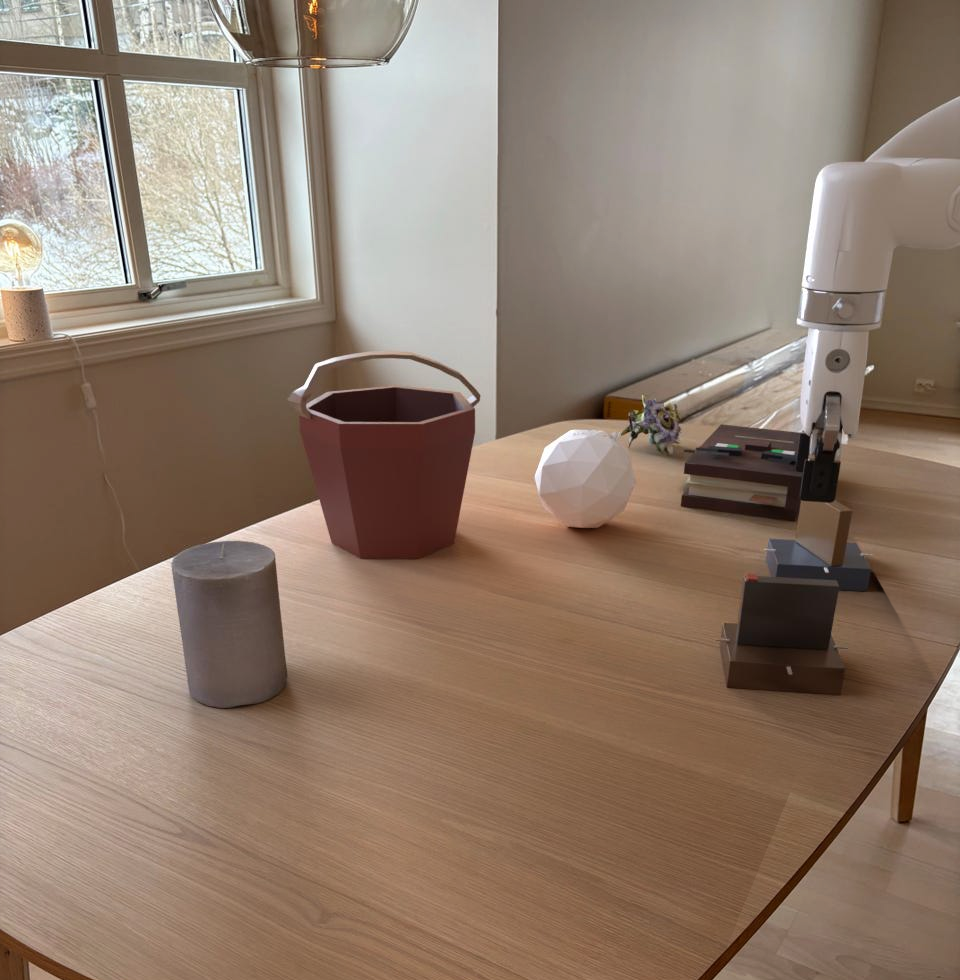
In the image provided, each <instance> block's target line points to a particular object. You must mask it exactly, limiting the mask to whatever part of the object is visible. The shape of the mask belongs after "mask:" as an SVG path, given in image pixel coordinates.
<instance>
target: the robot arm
mask: <svg viewBox="0 0 960 980" xmlns="http://www.w3.org/2000/svg"><path fill="white" fill-rule="evenodd" d="M810 211H811V212H810V219H809V225H808V226H809V227H808V232H807V233H808V236H807V241H806V248H805V256H804V265H803V272H802V281H801V287H800V295H799V301H798V309H797V317H796V325H798V326H801V327H803V328H808V331H807V338H806V345H805V352H804V361H803V366H802V367H803V368H802V376H801V377H802V378H801V387H800V388H801V389H800V401H799V402H800V403H799V406H800V407H799V417H800V424H801V427H802V431H801V432H799V433H800V437H799V444H798V452H797V459H796V466H795V469H796V471H797V472H803V477H802V484H801V491H800V499H801V500H802V501H811V502H826V503H832V502H834V500H835V501H836V494H837V489H838V484H839V483H838V482H839V476H840V471H841V464H842V462H841V451H842V439H843V437H842V436H843V434H844V435H847V438H848V439H853V438H855V437H856V436H857V435H858V430H859V422H860V414H861V407H862V406H861V405H862V400H863V399H862V398H863V392H864V386H865V385H864V384H865V377H866V370H867V361H868V350H869V336H870V335H869V334H870V331H873V330H877V329H880V328H881V326H882V319H883V314H884V308H885V303H886V302H885V301H886V296H887V289H888V284H889V279H890V273H891V268H892V267H891V266H892V262H893V255H894V250H895V249H896V248H898V247H906V248H911V249H912V248H913V249H921V250H928V251H929V250H931V251H944V250H949V249H954V248H957V247H959V246H960V95H959V96H957V97H955V98H953V99H951V100H949V101H947V102H945V103H943V104H941V105H939V106H937V107H936V108H934V109H932V110H931V111H929V112H926V113H924V115H922V116H920V117H919V118H917V119H916V120H914V121H913V122H911V123H909V124H908V125H907V126H906V127H904V128H902V129H901V130H900V131H898V133H896V134H895V135H894V136H893V137H892V138H890V139H889V140H887V141H886V142H885V143H884V144H882V145H881V146H880V147H879V148H878V149H877V150H875V151H874V152H873V153H872V154H870V156H869V157H867V159H866V160H864V161H840V162H839V161H838V162H833V163H830V164H827V165H825V166H824V167H823V168H821V170H820V171H819V172H818V175H817V176H816V179H815V184H814V188H813V196H812V204H811V210H810Z"/></svg>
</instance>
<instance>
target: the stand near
mask: <svg viewBox="0 0 960 980" xmlns="http://www.w3.org/2000/svg"><path fill="white" fill-rule="evenodd" d="M737 624H738V622H737V623H736V622H735V623H734V622H722V624H721V625H722V626H721V634H720V638H719V637H715V638H714V639H715V642H720V643H719V651H720V657H721V662H722V669H723V673H724V680H725V684H726V688H730V689H743V690H744V689H745V690H758V691H759V690H760V691H773V692H788V693H791V692H792V693H804V694H818V695H833V696H841V693H842V689H843V685H844V684H843V683H844V679H845V678H844V677H845V673H846V666H845V664H844V662H843V659H842V657H841V654H840V652H839V650H849V649H850V648H849V646H848V645H847V646H846V645H836V643H835V640H834V638H833V636H832V634H831V637H830V643H829V648H828V650H819V649H803V648H787V647H771V646H755V645H739V644H737V641H736V632H737Z"/></svg>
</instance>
